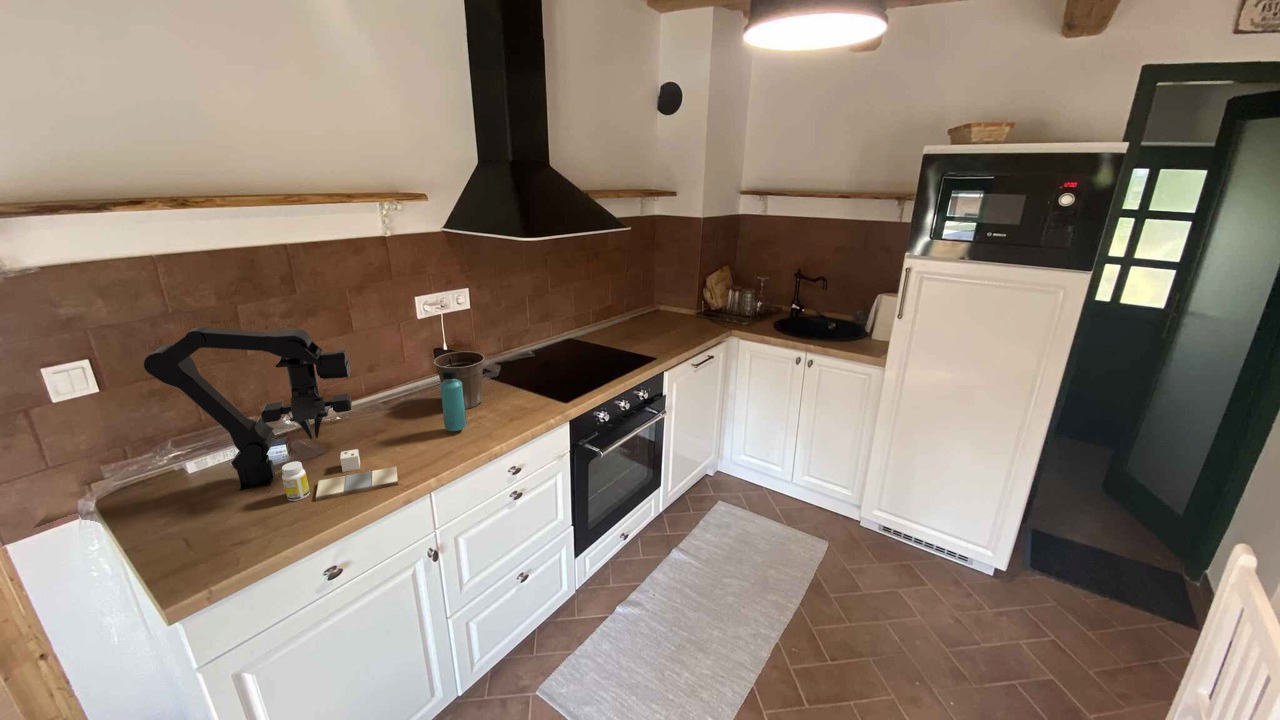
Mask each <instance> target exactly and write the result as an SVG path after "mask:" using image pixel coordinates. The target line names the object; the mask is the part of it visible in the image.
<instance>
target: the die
mask: <svg viewBox="0 0 1280 720" xmlns="http://www.w3.org/2000/svg"><path fill="white" fill-rule="evenodd" d="M339 459H340V464H341V470H342V473H346V472H351V471H356V470H360V469H361V458H360V451H359V448H357V449H351V450H343V451H341V452H340V458H339Z"/></svg>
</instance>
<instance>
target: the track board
mask: <svg viewBox="0 0 1280 720" xmlns="http://www.w3.org/2000/svg"><path fill="white" fill-rule="evenodd" d="M398 474H399V473H398V467H397V466H391V467H385V468H380V469H376V470H374V469H373V470H370V471H365V472H358V473H353V474H348V475H343V476H342V475H341V476H337V477H336V476H335V477H332V478H325V479H320V480H318V482H317V487H316V494H315V501H316V502H318V501H324V500H327V499H333V498H339V497H342V496H349V495H353V494H358V493H364V492H368V491H373V490H377V489H378V490H379V489H383V488H388V487H395V486H397V485H399V475H398Z"/></svg>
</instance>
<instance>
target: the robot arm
mask: <svg viewBox="0 0 1280 720" xmlns="http://www.w3.org/2000/svg"><path fill="white" fill-rule="evenodd" d="M186 333H187V334H185V336H183V337H182V338H181V339H180V340H178V341H177V342H175V343H174V344H166V345H165V344H164V345H162V346H161V347H159V348H158V349H157V350H154V351H153V352H151V354H149V355H148V356H147V357H145V359H144V361H143V368H144V370H145V372H146V373H147V374H149V376H151V377H153V378H155V380H158V381H159V382H161V383H163V384H166V385H169V386H171V387H174V388H177V389H178V390H180V391H182V392H183V393H184V395H186V396H187V397H188V398H189V399H190V400H192V401H193V403H195V404H196V405H197V406H198V407H199V408H200V409H202V410H203V411H204V412H206V414H208V415H209V416H210V417H211V418H212V419H213V420H214V421H216V423H217V424H219V426H221V427H222V428H223V429H225V430H226V431H227V432H228V434H229V435H230V438H231V441H232V443H233V445H234V446H235V448H236V449H237V450H238V451H237V453H236V454H235V456H234V458H233V460H231V463H230V464H231V466H232V467H233V468H234V469H235V470H236V473H237V475H238V479H239V486H238V489H239V491H243V490H244V491H245V490H248V489H249V490H250V489H255V488H260V487H264V486H265V487H266V486H271V484H272V481H273V480H274V478H275V475H276V470H275V466H274V462H273V460H272V459H270V458H269V454H268V453H269V451H270V450H271V448H272V445H273V444H274V442H275V438H276V435H275V433H274V432H273V431H274V428H273V427H272V426H269V424H267V423H272V422H278V421H280V420H281V418H282V415H289V421H290V422H291V423H293V422H294V423H297V424H299V426H301V428H302V429H303V431H304V432H305V433H306V434H307V436H308V437H309V439H310V440H312V439H313V438H314V436H313V435H315V439H319V433H320V429H321V424H322V420H323V418H326V417H328V416H329V411H330V409H332V411H333V412H335V413H337V414H338V413H345V412H349V411H352V405H353V402H352V396H351V395H350V394H349V393H341V394H333V395H332V398H331V399H330V400H329V399H328V400H325V399H324V397H323V396H321V395H320V389H319V383H318V378H317V377H319V378H320V379H323V380H325V381H326V380H334V379H345V378H347V379H348V378H350V377H351V364H350V360H349V359H348V356H347V353H346V350H338V351H337V350H336V351H331V352H324V350H323V348H321V347H320V346H319V345H317V344H316V343H315V342H314V341H313V340H312V337H311V335H310V334H309V333H308V332H307V331H306V330H305V329H304V330H303V329H300V328H293V329H281V330H276V331H275V330H274V331H267V332H264V331H263V332H262V331H251V330H238V329H237V330H235V329H223V328H221V329H220V328H210V327H209V328H207V327H204V326H197V327H195V328H193V329H191V330H190V331H189V332H186ZM202 348H206V349H220V350H221V349H222V350H240V351H256V352H257V351H258V352H264V353H268V354H272V355H274V356H277V357H280V359H279V360H278V361H277V363H276V364H275V366H274V367H276V368H286V373H287V377H288V383H289V387H290V392H291V393H290V394H291V398H290V405H285V403H284V402H283V401H279V402H271V403H266V404H265V405H264V407H263V409H262V411H261V414H260V415H261V418H260V417H259V419H257V420H253V419H250V418H247V417H246V416H245V415H244V414H243V413H242V412H241V411H240V409H239V410H238V408H236V406H234V405H233V404H232V403H231V402H230V401H229V400H228V399H227V398H226V397H224V396H223V394H221V392H219V390H217V389H216V388H215V387H214V386H212V384H210V383H209V382H208V380H206V379H205V378H204V377H203V376H202V375H201V374H200V373H199V370H198V367H197V365H196V363H195V361H194V359H192V357H191V355H192V354H194V353H195V352H197V350H199V349H202ZM311 420H313V421H314V433H313V429H312V426H311V423H310V421H311Z"/></svg>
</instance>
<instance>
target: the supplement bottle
mask: <svg viewBox="0 0 1280 720" xmlns="http://www.w3.org/2000/svg"><path fill="white" fill-rule="evenodd" d="M303 467H304V466H303V464H302V462H301V461H297V460H296V461H289V462H287V463H285V464H284V465H283V466H281V471H282V475H281V479H282V483H283V488H284V492H285V495H286V499H287V500H288V501H291V502H297V501H301V500H304V499H305V498H307V497H308V496H309V495H310V493H311V492H310V486H309V482H308V477H307V473H306V470H305V469H304V468H303Z"/></svg>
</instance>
